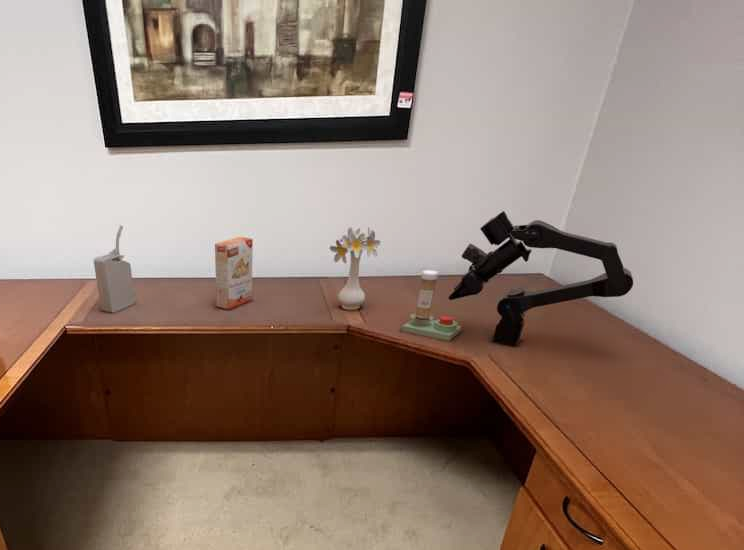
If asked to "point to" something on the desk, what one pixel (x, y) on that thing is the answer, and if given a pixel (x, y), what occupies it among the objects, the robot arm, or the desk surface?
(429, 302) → the sprinkles bottle
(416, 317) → the plate
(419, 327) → the warmer
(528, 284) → the desk surface
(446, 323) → the button
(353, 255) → the flower vase
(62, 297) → the desk surface
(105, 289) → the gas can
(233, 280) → the cracker box
